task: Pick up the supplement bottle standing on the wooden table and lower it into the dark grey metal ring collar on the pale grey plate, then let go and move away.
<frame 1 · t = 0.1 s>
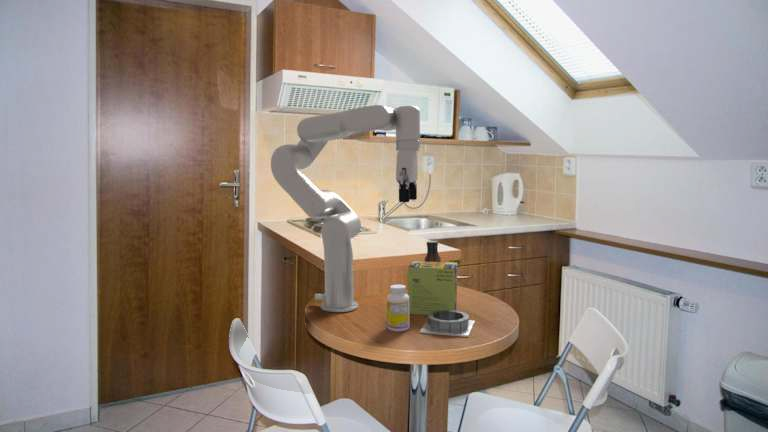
hand: (408, 200, 173), 37 cm above the table, tool pointing down, fingers open, 9 cm apart
sauce bottle: (433, 295, 200), on the table
protein box: (432, 311, 180), on the table
supplement bottle: (398, 329, 162), on the table
ring collar: (448, 327, 163), on the table
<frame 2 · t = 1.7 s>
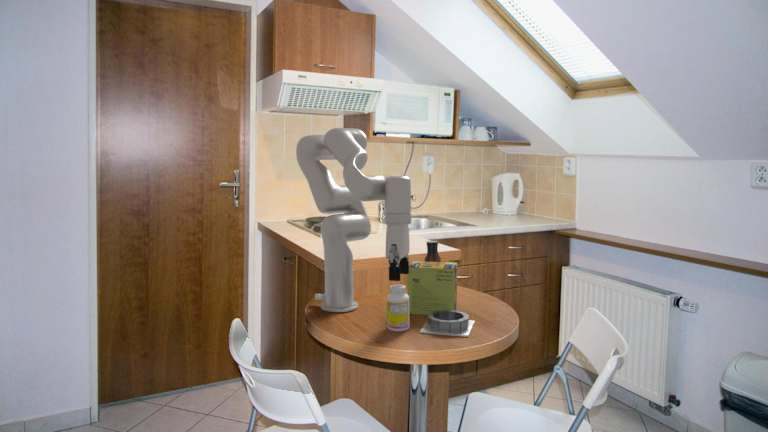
hand: (399, 277, 160), 16 cm above the table, tool pointing down, fingers open, 9 cm apart
nothing on the table moved.
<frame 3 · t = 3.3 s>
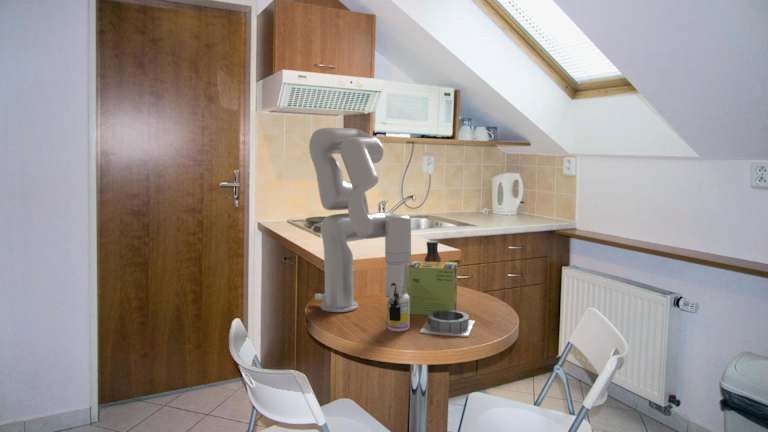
hand: (398, 316, 161), 4 cm above the table, tool pointing down, fingers closed on supplement bottle, 6 cm apart
supplement bottle: (398, 329, 162), on the table, touching gripper
everything else where it was.
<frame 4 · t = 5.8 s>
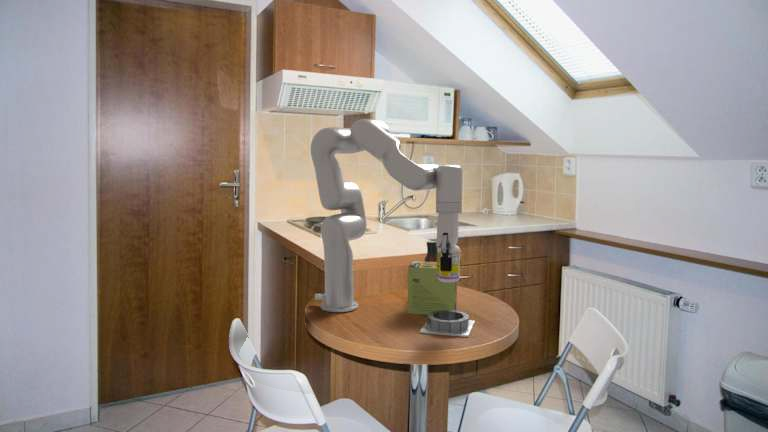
hand: (448, 267, 161), 18 cm above the table, tool pointing down, fingers closed on supplement bottle, 6 cm apart
supplement bottle: (448, 280, 161), point 14 cm above the table, touching gripper
everything else where it was.
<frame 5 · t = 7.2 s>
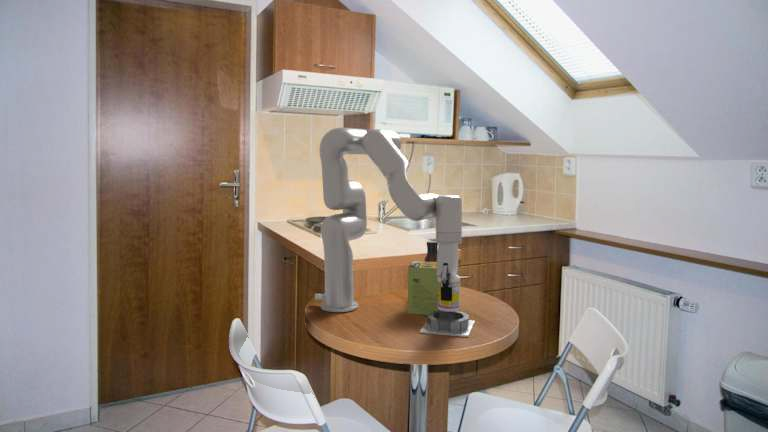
hand: (448, 296, 161), 9 cm above the table, tool pointing down, fingers closed on supplement bottle, 6 cm apart
supplement bottle: (448, 309, 162), point 5 cm above the table, touching gripper
everything else where it was.
when the fingers open (6 cm above the table, at t = 8.5 s): supplement bottle drops 1 cm, resting on ring collar.
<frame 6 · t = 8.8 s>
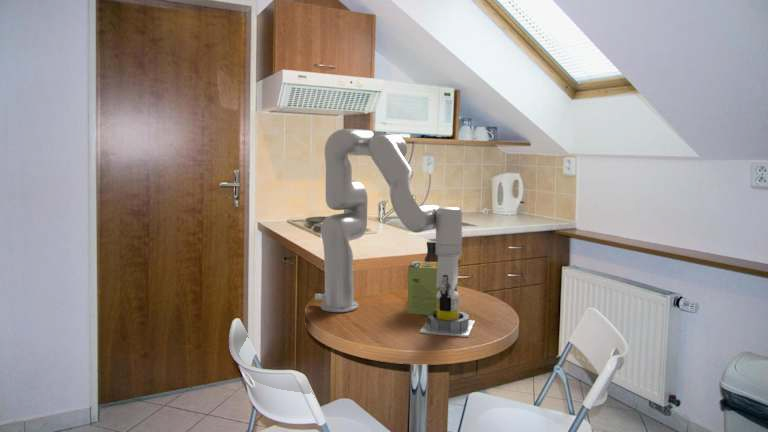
hand: (448, 306, 162), 6 cm above the table, tool pointing down, fingers open, 9 cm apart
supplement bottle: (447, 326, 162), resting on ring collar
everything else where it was.
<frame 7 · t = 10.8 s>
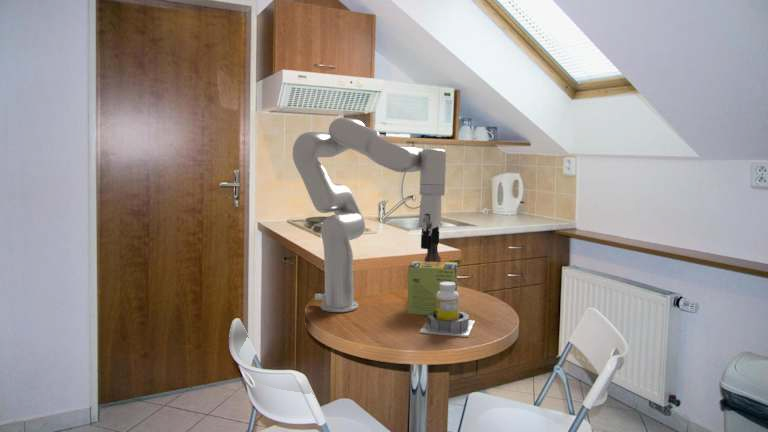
hand: (430, 246, 166), 23 cm above the table, tool pointing down, fingers open, 9 cm apart
nothing on the table moved.
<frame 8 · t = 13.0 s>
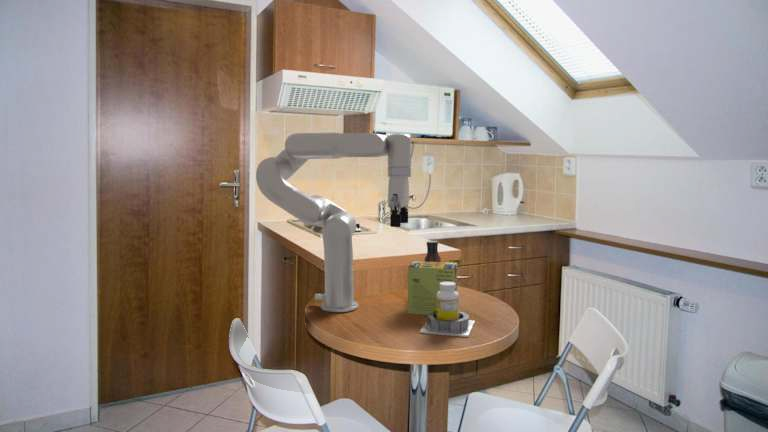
hand: (399, 224, 179), 28 cm above the table, tool pointing down, fingers open, 9 cm apart
nothing on the table moved.
at the end: supplement bottle 0.2 cm from the ring collar (horizontally); supplement bottle tilted 0°; the gripper is holding nothing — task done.
